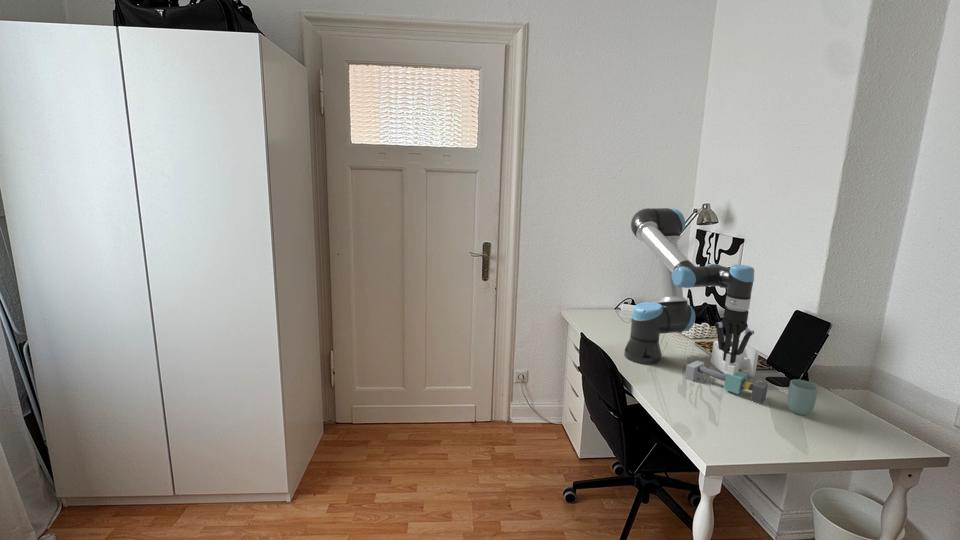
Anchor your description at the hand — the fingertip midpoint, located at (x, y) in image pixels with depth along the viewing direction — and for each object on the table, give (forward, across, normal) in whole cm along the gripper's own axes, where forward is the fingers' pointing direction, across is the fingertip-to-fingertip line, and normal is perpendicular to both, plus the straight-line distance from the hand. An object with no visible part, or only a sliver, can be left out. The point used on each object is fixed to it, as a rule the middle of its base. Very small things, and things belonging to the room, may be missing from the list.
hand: (727, 370), depth 167 cm
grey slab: (+7, -12, 0) cm, 14 cm away
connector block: (+7, +11, 0) cm, 13 cm away
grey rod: (+5, -1, 0) cm, 5 cm away
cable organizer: (+8, -5, +17) cm, 19 cm away
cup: (+8, +23, +3) cm, 24 cm away
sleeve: (+7, +3, 0) cm, 8 cm away
